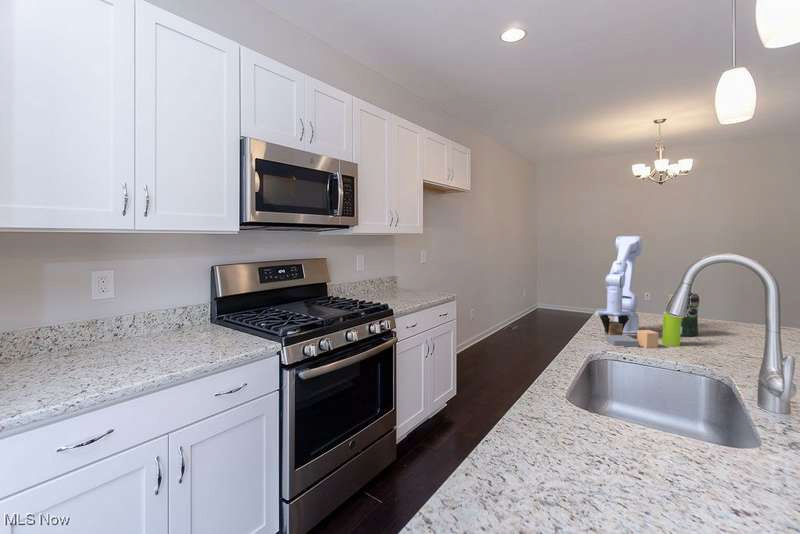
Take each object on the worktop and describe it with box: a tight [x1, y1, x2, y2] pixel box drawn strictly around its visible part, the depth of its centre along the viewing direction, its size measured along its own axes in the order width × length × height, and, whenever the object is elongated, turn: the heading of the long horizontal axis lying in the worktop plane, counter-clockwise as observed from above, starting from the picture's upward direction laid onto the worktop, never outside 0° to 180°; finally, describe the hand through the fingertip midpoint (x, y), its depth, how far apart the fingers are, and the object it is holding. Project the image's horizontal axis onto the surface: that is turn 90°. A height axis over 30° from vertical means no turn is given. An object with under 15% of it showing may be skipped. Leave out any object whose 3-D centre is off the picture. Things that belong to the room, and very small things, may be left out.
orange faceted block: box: [636, 329, 660, 349], centre depth 153 cm, size 5×5×6 cm
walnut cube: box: [604, 320, 623, 336], centre depth 166 cm, size 5×5×6 cm
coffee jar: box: [680, 293, 700, 337], centre depth 169 cm, size 10×8×19 cm
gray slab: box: [604, 334, 640, 348], centre depth 156 cm, size 9×9×3 cm
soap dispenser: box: [661, 294, 681, 347], centre depth 155 cm, size 6×7×20 cm
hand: (613, 332), depth 166 cm, fingers closed on walnut cube, 5 cm apart
